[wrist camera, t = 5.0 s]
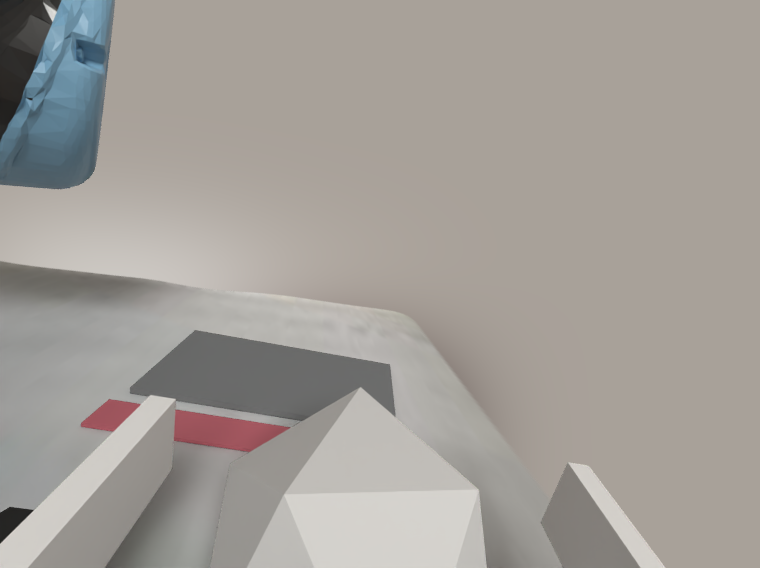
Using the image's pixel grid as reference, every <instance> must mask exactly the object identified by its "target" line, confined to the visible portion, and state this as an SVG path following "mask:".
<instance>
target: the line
mask: <svg viewBox="0 0 760 568" xmlns="http://www.w3.org/2000/svg"><path fill="white" fill-rule="evenodd" d="M140 405H141V404H136V403H130V402H123V401H117V400H111V399H109V400H108V401H107V402H105V403H104V404H103V405H102V406H101V407H100V408H98V409H97V410H96V411H95V412H94V413H92V414H91V415H90V416H89V417H88V418H87V419H85V420H84V421H83V422H82V423H81V427H87V428H93V429H100V430H107V431H115V430H116V429H117V428H118V427H119V426H120V425H121V424H122V423H123V422H124V421H125V420H126V419H127V418H128V417H129V416H130V415H131V414H132V413H133V412H134V411H135V410H136V409H137V408H138V407H139V406H140ZM288 429H290V427H284V426H277V425H271V424H264V423H258V422H251V421H245V420H239V419H232V418H226V417H219V416H213V415H207V414H200V413H194V412H187V411H181V410H175V426H174V441H181V442H188V443H194V444H201V445H208V446H215V447H221V448H228V449H235V450H241V451H248V452H250V451H252V450H254V449H256V448H257V447H259V446H261V445H262V444H264V443H266V442H268V441H269V440H271V439H273V438H274V437H276V436H278V435H279V434H281V433H283V432H285V431H286V430H288Z"/></svg>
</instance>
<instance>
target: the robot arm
mask: <svg viewBox="0 0 760 568" xmlns="http://www.w3.org/2000/svg"><path fill="white" fill-rule="evenodd" d="M114 6H115V0H0V185H12V186H25V187H36V188H49V189H65V188H70V187H73V186H77V185H80V184H82V183H84V181H86V180H87V179H89V178H90V176H91V175H92V174H93V172H94V170H95V166H96V160H97V153H98V145H99V137H100V130H101V121H102V113H103V105H104V96H105V87H106V78H107V68H108V59H109V52H110V43H111V34H112V25H113V14H114ZM175 408H176V399H173V398H166V397H160V396H154V395H150V396H149V397H148V398H147V399H146V400H145V401H144V402H143V403H142V404H141V405H140V406H139V407H138V408H137V409H136V410H135V411H134V412H133V413H132V414H131V415H130V416H129V417H128V418H127V419H126V420H125V421H124V422H123V423H122V424H121V425H120V426H119V427H118V428H117V429H116V430H115V431H114V432H113V433H112V434H111V435H110V436H109V437H108V438H107V439H106V440H105V441H104V442H103V443H102V444H101V445H100V446H99V447H98V448H97V449H96V450H95V451H94V452H92V453H91V454H90V455H89V456H88V457H87V458H86V459H85V460H84V461H83V462H82V463H81V464H80V465H79V466H78V467H77V468H76V469H75V470H74V471H73V472H72V473H71V474H70V475H69V476H68V477H67V478H66V479H65V480H64V481H63V482H62V483H61V484H60V485H59V486H58V487H57V488H56V489H55V490H54V491H53V492H52V493H51V494H50V495H49V496H48V497H47V498H46V499H45V500H44V501H43V502H42V503H41V504H40V505H39V506H38V507H37V508H36V509H35V510H29V509H21V508H14V507H9V508H7V509H6V510H4V511H2V512H1V513H0V568H105V567H106V565H107V564H108V562H109V561H110V559H111V558H112V556H113V555H114V553H115V552H116V550H117V549H118V547H119V546H120V544H121V543H122V542H123V540H124V539H125V537H126V536H127V534H128V533H129V531H130V530H131V528H132V527H133V525H134V524H135V522H136V521H137V520H138V518H139V517H140V515H141V514H142V512H143V511H144V509H145V508H146V506H147V505H148V503H149V502H150V500H151V499H152V498H153V496H154V495H155V493H156V492H157V490H158V489H159V487H160V486H161V484H162V483H163V481H164V480H165V478H166V477H167V476H168V474H169V473H170V471H171V470H172V462H173V444H174V426H175ZM541 524H542V526H543V528H544V530H545V532H546V534H547V536H548V538H549V540H550V542H551V544H552V546H553V548H554V550H555V552H556V554H557V556H558V558H559V560H560V562H561V564H562V566H563V568H665V566H663V564H662V563H661V561H660V560H659V559H658V557H657V556H656V555H655V553H654V552H653V551H652V549H651V548H650V547H649V545H648V544H647V543H646V541H645V540H644V539H643V537H642V536H641V535H640V533H639V532H638V531H637V529H636V528H635V527H634V525H633V524H632V523H631V521H630V520H629V519H628V517H627V516H626V515H625V513H624V512H623V511H622V510H621V508H620V507H619V506H618V504H617V503H616V501H615V500H614V499H613V498H612V496H611V495H610V494H609V492H608V491H607V490H606V488H605V487H604V486H603V484H602V483H601V482H600V480H599V479H598V478H597V476H596V475H595V474H594V472H593V471H592V470H591V468H590V467H589V466H587V465H581V464H575V463H569V462H568V463H567V466H566V468H565V470H564V472H563V474H562V477H561V479H560V481H559V483H558V485H557V487H556V490H555V492H554V494H553V497H552V499H551V501H550V503H549V505H548V507H547V510H546V512H545V514H544V516H543V518H542V521H541Z"/></svg>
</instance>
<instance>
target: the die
mask: <svg viewBox="0 0 760 568" xmlns="http://www.w3.org/2000/svg"><path fill="white" fill-rule="evenodd" d="M210 568H487V565H486V555H485V545H484V535H483V526H482V516H481V506H480V496H479V489H478V488H477V487H475V486H474V485H473V484H472V483H471V482H470V481H468V480H467V479H466V478H465V477H464V476H463V475H462V474H460V473H459V472H458V471H457V470H456V469H455V468H453V467H452V466H451V465H450V464H449V463H448V462H447V461H445V460H444V459H443V458H442V457H441V456H440V455H438V454H437V453H436V452H435V451H434V450H433V449H432V448H430V447H429V446H428V445H427V444H426V443H425V442H423V441H422V440H421V439H420V438H419V437H418V436H417V435H415V434H414V433H413V432H412V431H411V430H410V429H408V428H407V427H406V426H405V425H404V424H403V423H402V422H400V421H399V420H398V419H397V418H396V417H395V416H393V415H392V414H391V413H390V412H389V411H388V410H387V409H385V408H384V407H383V406H382V405H381V404H380V403H378V402H377V401H376V400H375V399H374V398H373V397H372V396H370V395H369V394H368V393H367V392H366V391H365V390H363V389H362V388H361V387H360V388H358V389H356V390H354V391H353V392H351V393H349V394H348V395H346V396H344V397H343V398H341V399H339V400H337V401H336V402H334V403H332V404H331V405H329V406H327V407H325V408H324V409H322V410H320V411H319V412H317V413H315V414H314V415H312V416H310V417H308V418H307V419H305V420H303V421H302V422H300V423H298V424H296V425H295V426H293V427H291V428H290V429H288V430H286V431H285V432H283V433H281V434H279V435H278V436H276V437H274V438H273V439H271V440H269V441H268V442H266V443H264V444H262V445H261V446H259V447H257V448H256V449H254V450H252V451H250V452H249V453H247V454H245V455H244V456H242V457H240V458H239V459H237V460H235V461H233V462H232V463H230V467H229V472H228V477H227V482H226V487H225V492H224V497H223V502H222V507H221V512H220V517H219V522H218V527H217V533H216V538H215V543H214V548H213V553H212V558H211V563H210Z"/></svg>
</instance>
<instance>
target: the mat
mask: <svg viewBox="0 0 760 568" xmlns="http://www.w3.org/2000/svg"><path fill="white" fill-rule="evenodd" d="M360 387H361V388H362V389H363V390H365V391H366V392H367V393H368V394H369V395H370V396H372V397H373V398H374V399H375V400H376V401H377V402H378V403H380V404H381V405H382V406H383V407H384V408H385V409H387V410H388V411H389V412H390V413H391V414H392V415H393V416H395V407H394V398H393V389H392V380H391V370H390V364H384V363H378V362H373V361H367V360H361V359H356V358H350V357H344V356H339V355H333V354H327V353H322V352H316V351H310V350H305V349H299V348H293V347H288V346H282V345H276V344H271V343H265V342H259V341H254V340H248V339H242V338H237V337H231V336H225V335H220V334H214V333H208V332H203V331H197V330H195V331H194V332H193V333H192V334H190V335H189V336H188V337H187V338H186V339H185V340H184V341H182V342H181V343H180V344H179V345H178V346H177V347H176V348H174V349H173V350H172V351H171V352H170V353H169V354H168V355H167V356H165V357H164V358H163V359H162V360H161V361H160V362H159V363H157V364H156V365H155V366H154V367H153V368H152V369H151V370H149V371H148V372H147V373H146V374H145V375H144V376H143V377H141V378H140V379H139V380H138V381H137V382H136V383H135V384H134V385H132V386H131V387H130V393H132V394H138V395H145V396H150V395H154V396H160V397H166V398H173V399H176V401H182V402H189V403H195V404H201V405H208V406H214V407H220V408H227V409H233V410H239V411H246V412H252V413H258V414H264V415H271V416H277V417H283V418H290V419H296V420H302V421H303V420H305V419H307V418H308V417H310V416H312V415H314V414H315V413H317V412H319V411H320V410H322V409H324V408H325V407H327V406H329V405H331V404H332V403H334V402H336V401H337V400H339V399H341V398H343V397H344V396H346V395H348V394H349V393H351V392H353V391H354V390H356V389H358V388H360Z"/></svg>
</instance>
